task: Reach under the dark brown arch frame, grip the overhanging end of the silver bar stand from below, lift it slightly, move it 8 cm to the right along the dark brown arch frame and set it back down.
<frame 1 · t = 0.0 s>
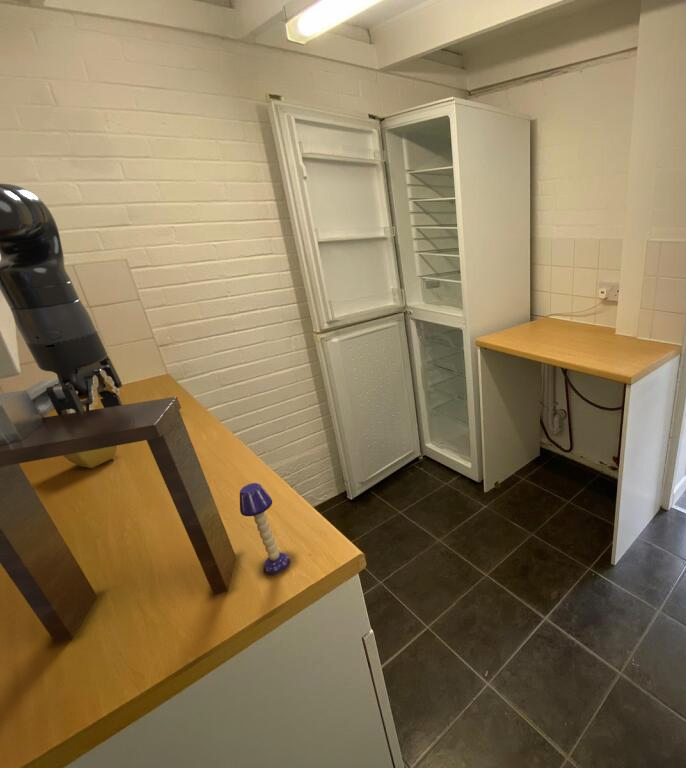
hand: (108, 428, 68), 26 cm above the kitchen counter, tool pointing down, fingers open, 8 cm apart
flower pot: (96, 462, 107), on the kitchen counter
dark brown arch frame: (155, 595, 69), on the kitchen counter
silver stand: (31, 419, 58), point 32 cm above the kitchen counter, touching dark brown arch frame
toy lamp: (277, 565, 74), on the kitchen counter
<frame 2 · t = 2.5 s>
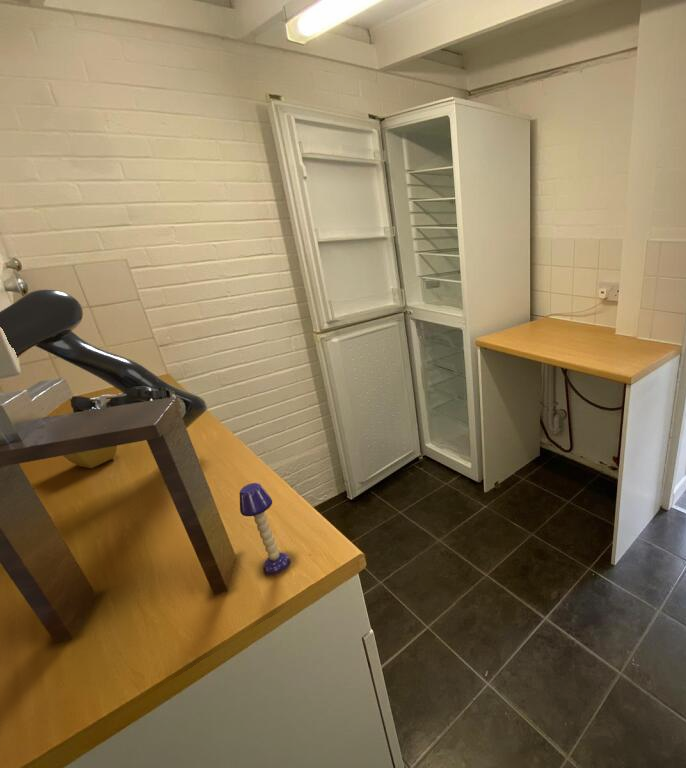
hand: (105, 397, 75), 28 cm above the kitchen counter, tool pointing upward, fingers open, 8 cm apart
nothing on the kitchen counter moved.
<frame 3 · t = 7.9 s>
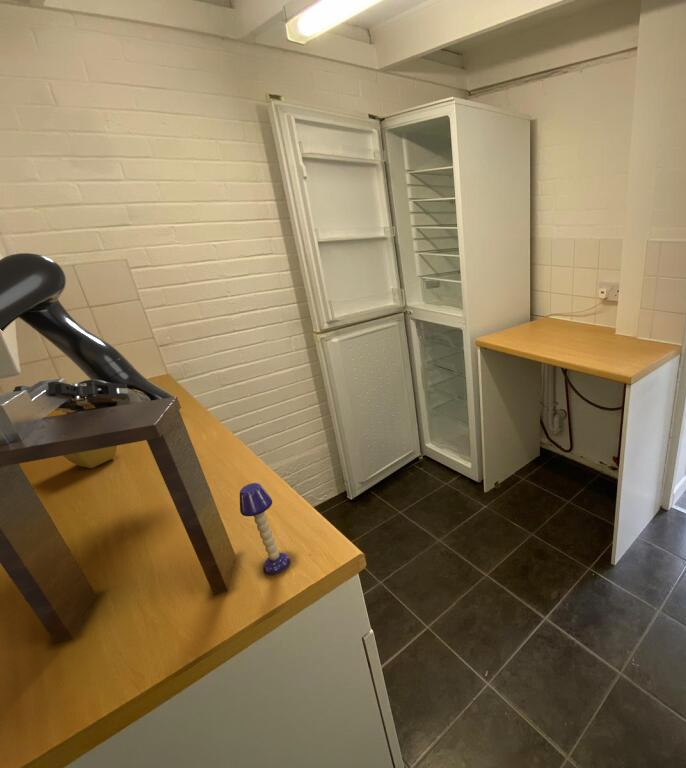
hand: (35, 390, 60), 35 cm above the kitchen counter, tool pointing upward, fingers closed on silver stand, 3 cm apart
silver stand: (31, 419, 58), point 32 cm above the kitchen counter, touching gripper, dark brown arch frame
everything else where it was.
when the fingers open (35 cm above the kitchen counter, at t = 12.6 s): silver stand stays where it is, resting on dark brown arch frame.
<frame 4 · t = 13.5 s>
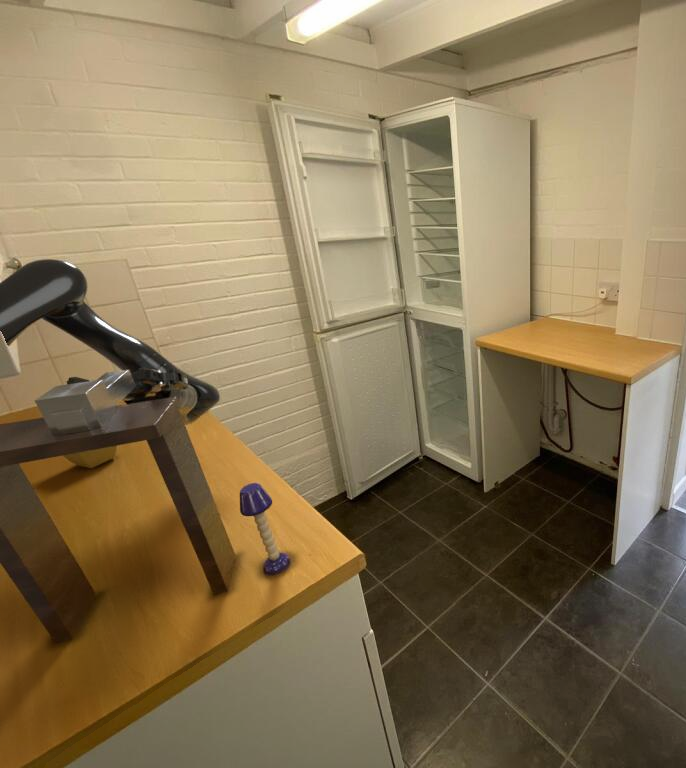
hand: (107, 378, 63), 35 cm above the kitchen counter, tool pointing upward, fingers open, 8 cm apart
silver stand: (103, 408, 61), point 32 cm above the kitchen counter, touching dark brown arch frame
everything else where it was.
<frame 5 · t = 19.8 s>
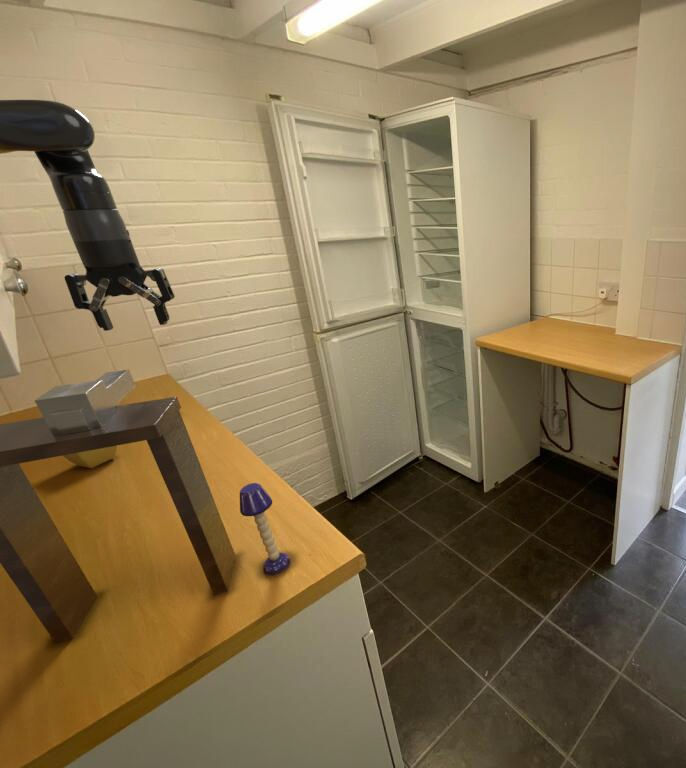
hand: (137, 326, 80), 38 cm above the kitchen counter, tool pointing down, fingers open, 8 cm apart
nothing on the kitchen counter moved.
at the end: silver stand 0.5 cm from the target spot, point 32.0 cm above the kitchen counter; silver stand moved 8.0 cm from its start; the gripper is holding nothing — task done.
